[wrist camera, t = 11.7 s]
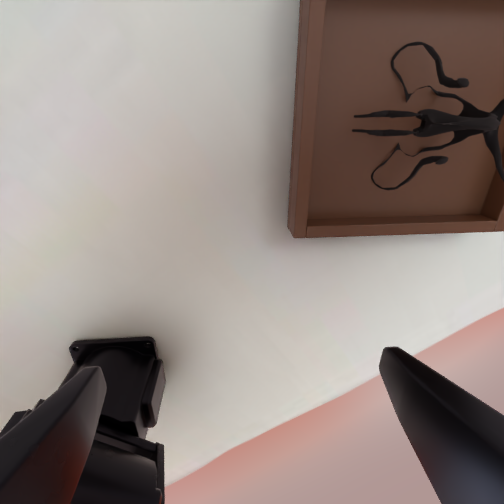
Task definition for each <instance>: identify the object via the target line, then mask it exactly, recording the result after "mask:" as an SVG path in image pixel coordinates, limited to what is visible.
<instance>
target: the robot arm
mask: <svg viewBox="0 0 504 504" xmlns="http://www.w3.org/2000/svg"><path fill="white" fill-rule="evenodd" d="M147 343H150V344H147ZM77 347H78V348H77ZM69 350H70V353H71V356H72V358H73V361H74V364H73V366H72V368H71V369H70V371H69V373H68V374H67V376H66V377H65V379H64V381H63V382H62V384H61V385H60V387H59V389H58V390H57V391H56V392H55V393H54V394H52V395H51V396H50V397H49V398H48V399H46V400H43V399H40V400H39V401H38V403H37V404H36V405H35V407H34V408H33V409H32V410H30V409H28V410H27V411H19V412H15V413H14V414H13V416H12V417H11V419H10V420H9V421H8V423H7V424H6V426H5V427H4V428H3V430H2V431H1V433H0V504H164V501H165V498H164V497H165V496H164V445H163V444H160V443H157V442H156V443H153V442H150V441H148V440H145V438H146V434H147V430H148V428H151V427H154V426H155V425H156V423H157V419H158V414H159V410H160V405H161V401H162V397H163V392H164V388H165V383H166V379H165V373H164V368H163V362H162V360H161V359H158V353H157V348H156V343H155V340H154V339H153V338H152V337H135V338H117V339H100V340H83V341H74V342H73V343H72V344H71V346H70V347H69ZM379 370H380V374H381V376H382V379H383V381H384V384H385V387H386V389H387V391H388V394H389V397H390V399H391V402H392V404H393V407H394V409H395V412H396V414H397V416H398V419H399V421H400V423H401V425H402V427H403V429H404V431H405V433H406V435H407V437H408V439H409V441H410V443H411V445H412V447H413V449H414V451H415V452H416V455H417V456H418V458H419V460H420V462H421V464H422V466H423V468H424V470H425V472H426V474H427V476H428V478H429V480H430V482H431V484H432V486H433V488H434V490H435V492H436V494H437V496H438V498H439V500H440V502H441V503H442V504H504V415H502V414H501V413H499V412H498V411H496V410H495V409H493V408H491V407H490V406H489V405H487V404H485V403H484V402H482V401H481V400H479V399H478V398H476V397H475V396H473V395H472V394H470V393H468V392H467V391H465V390H464V389H462V388H460V387H459V386H458V385H456V384H455V383H453V382H451V381H450V380H448V379H447V378H445V377H444V376H442V375H441V374H439V373H437V372H436V371H434V370H433V369H431V368H430V367H428V366H427V365H425V364H424V363H422V362H421V361H419V360H417V359H416V358H414V357H413V356H411V355H410V354H408V353H407V352H405V351H404V350H402V349H400V348H399V347H385V348H384V349H383V352H382V356H381V360H380V364H379Z"/></svg>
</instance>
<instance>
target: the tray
mask: <svg viewBox="0 0 504 504" xmlns="http://www.w3.org/2000/svg"><path fill="white" fill-rule="evenodd" d="M412 42H423V43H426V44H428V45H430V46H432V47H433V48H434V50H435V51H436V52H437V53H438V55H439V56H440V58H441V60H442V65H443V71H444V74H445V75H446V76H447V77H449V78H453V79H454V80H457V78H466V79H468V81H469V86H468V87H465V88H448V87H445V86H444V85H441V84H440V83H439V80H438V76H437V71H436V64H435V60H434V59H433V58H432V56H431V55H430V54H429V53H428V51H427V50H426V49H425V47H424V46H423V45H417V46H408V47H406V48H405V49H403V50H402V51H400V53H399V54H398V55H397V57H396V58H395V59H394V68H395V69H396V70H397V72H398V73H399V74H400V76H401V77H402V80H403V82H404V84H405V87H406V89H407V92H408V94H410V93H413V94H412V95H411V96H410V98H409V100H408V101H407V103H406V95H405V91H404V87H403V84H402V83H401V81H400V80H399V78H398V77H397V75H396V74H395V72H394V71H393V70H392V67H391V60H392V57H393V56H394V55H395V53H396V52H397V51H398V50H399V49H400V48H402V47H403V46H404V45H406V44H408V43H412ZM424 86H431V87H432V88H433V89H434V90H436V91H440V92H444V93H452V94H456V95H457V96H459V97H461V98H463V99H464V100H466V101H467V102H469V103H471V104H473V105H474V106H475V107H476V108H477V109H479V110H482V111H485V112H489V113H490V112H491V111H492V110H493V109H494V108H495V107H496V106H497V105H498V104H499V102H500V101H501V100H503V99H504V0H300V14H299V32H298V49H297V67H296V84H295V102H294V120H293V137H292V155H291V172H290V190H289V208H288V225H287V227H288V229H289V230H290V232H291V234H292V236H293V237H294V238H305V237H306V238H317V237H348V236H378V235H408V234H438V233H469V232H497V231H504V182H503V180H502V178H501V177H500V175H499V173H498V171H497V168H496V165H495V161H494V157H493V155H492V153H491V151H490V150H489V148H488V147H487V146H486V143H485V139H484V136H483V134H482V133H481V134H477V135H473V136H469V137H467V138H466V139H465V140H463V141H461V142H458V143H456V144H453V145H450V146H448V147H445V148H443V149H441V150H434V151H426V152H421V153H419V154H418V155H416V154H417V153H418V152H420V151H421V150H422V149H424V148H427V147H434V146H441V145H444V144H447V143H449V142H450V141H452V139H453V138H454V132H453V131H451V132H446V133H442V134H438V135H434V136H429V137H417V136H414V135H413V134H410V135H406V136H375V135H369V134H367V133H362V132H352V129H364V130H387V129H394V130H409V131H413V129H415V128H418V127H420V125H421V120H420V119H418V118H416V116H413V117H397V118H390V117H367V118H354V115H364V114H370V113H372V112H378V111H383V110H395V111H410V112H414V113H418V112H419V111H420V110H424V109H435V110H439V111H442V112H446V113H449V114H452V115H457V116H458V115H459V114H460V113H461V112H462V110H463V104H462V102H460V101H459V100H457V99H454V98H447V97H440V96H438V95H436V94H435V93H434V92H433V90H432V89H431V88H430V87H424ZM421 87H424V88H421ZM419 88H421V89H419ZM417 89H418V90H417ZM498 141H499V146H500V151H501V155H502V167H503V170H504V116H503V117H502V120H501V124H500V125H499V130H498ZM398 143H399V145H400V149H401V150H402V151H401V150H396V151H395V153H394V154H393V155H392V156H391V154H392V153H393V151H394V150H395V148H396V146H397V144H398ZM404 153H405V154H404ZM406 154H408V155H410V156H408V155H406ZM414 155H416V156H414ZM390 156H391V158H390V159H389V160H388V161H387V162H386V163H385V164H384V165H383V166H381V167H380V168H378V169H377V170H376V171H375V172H374V175H373V179H374V181H375V183H376V184H378V185H379V186H381V187H382V188H390V187H396V186H398V185H399V184H400V183H402V182H403V181H404V180H405V179H407V178H408V177H409V176H410V174H411V173H412V171H413V169H414V168H415V167H416V165H417V164H418V163H419V161H420V160H421V159H423V158H426V157H429V156H446V157H448V161H447V162H446V163H445V164H441V165H437V164H435V163H436V162H433V163H431V164H426V165H423V166H422V167H421V168H420V170H419V171H418V172H417V174H416V175H415V176H414V177H413V178H412V179H411V180H410V181H409V182H408V183H406V184H404V185H403V186H401V187H399V188H398V189H395V190H384V189H381V188H379V187H377V186H376V185H375V184H374V183H373V181H372V179H371V175H372V173H373V171H374V170H375V169H376V168H377V167H378V166H380V165H381V164H382V163H383V162H384V161H386V160H387V159H388V158H389V157H390ZM411 156H414V157H411Z"/></svg>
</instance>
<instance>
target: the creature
mask: <svg viewBox="0 0 504 504" xmlns="http://www.w3.org/2000/svg"><path fill="white" fill-rule="evenodd" d="M417 45H423V46H424V47H425V49H426V50H427V51H428V53H429V54H430V55H431V56H432V58H433V59H434V60H435V64H436V71H437V76H438V80H439V83H440V84H441V85H444V86H445V87H448V88H465V87H468V86H469V81H468V79H466V78H457V80H454V79H453V78H449V77H447V76H446V75H445V74H444V71H443V65H442V60H441V58H440V56H439V55H438V53H437V52H436V51H435V50H434V48H433V47H432V46H430V45H428V44H426V43H423V42H412V43H408V44H406V45H404V46H403V47H402V48H400V49H399V50H398V51H397V52H396V53H395V55H394V56H393V57H392V60H391V67H392V70H393V71H394V72H395V74H396V75H397V77H398V78H399V80H400V81H401V83H402V84H403V87H404V91H405V95H406V103H407V101H408V100H409V98H410V96H411V95H412V94H413V93H410V94H408V92H407V89H406V87H405V84H404V82H403V80H402V77H401V76H400V74H399V73H398V72H397V70H396V69H395V68H394V59H395V58H396V57H397V55H398V54H399V53H400V51H402V50H403V49H405V48H406V47H408V46H417ZM424 87H430V88H431V89H432V90H433V92H434V93H435V94H436V95H438V96H440V97H447V98H454V99H457V100H459V101H460V102H462V104H463V110H462V112H461V113H460V114H459V115H458V116H457V115H452V114H449V113H446V112H442V111H439V110H435V109H424V110H420V111H419V112H418V113H414V112H410V111H395V110H383V111H378V112H372V113H370V114H364V115H354V118H367V117H390V118H397V117H413V116H416V118H418V119H420V120H421V125H420V127H418V128H415V129H413V131H409V130H394V129H387V130H364V129H352V132H362V133H367V134H369V135H375V136H406V135H410V134H413V135H414V136H417V137H429V136H434V135H438V134H442V133H446V132H451V131H453V132H454V138H453V139H452V141H450V142H449V143H447V144H444V145H441V146H434V147H427V148H424V149H422V150H421V151H420V152H418V153H417V154H416V155H418V154H419V153H421V152H426V151H434V150H441V149H443V148H445V147H448V146H450V145H453V144H456V143H458V142H461V141H463V140H465V139H466V138H467V137H469V136H473V135H477V134H481V133H482V134H483V136H484V139H485V143H486V146H487V147H488V148H489V150H490V151H491V153H492V155H493V157H494V161H495V165H496V168H497V171H498V173H499V175H500V177H501V178H502V180H503V182H504V170H503V167H502V155H501V151H500V146H499V141H498V130H499V125H500V124H501V120H502V117H503V116H504V99H503V100H501V101H500V102H499V104H498V105H497V106H496V107H495V108H494V109H493V110H492V111H491V112H490V113H489V112H485V111H482V110H479V109H477V108H476V107H475V106H474V105H473V104H471V103H469V102H467V101H466V100H464V99H463V98H461V97H459V96H457V95H456V94H452V93H444V92H440V91H436V90H434V89H433V88H432V87H431V86H424ZM424 87H421V88H424ZM421 88H419V89H421ZM417 90H418V89H417ZM396 150H401V149H400V145H399V143H398V144H397V146H396V148H395V150H394V151H393V153H392V154H391V156H392V155H393V154H394V153H395V151H396ZM401 151H402V150H401ZM404 154H405V153H404ZM406 155H408V154H406ZM416 155H414V156H416ZM391 156H390V157H389V158H388V159H387V160H386V161H384V162H383V163H382V164H381V165H380V166H378V167H377V168H376V169H375V170H374V171H373V173H372V175H371V179H372V181H373V183H374V184H375V185H376V186H377V187H379V188H381V189H384V190H395V189H398V188H399V187H401V186H403V185H404V184H406V183H408V182H409V181H410V180H411V179H412V178H413V177H414V176H415V175H416V174H417V172H418V171H419V170H420V168H421V167H422V166H423V165H426V164H431V163H433V162H436V163H435V164H437V165H441V164H445V163H446V162H447V161H448V157H446V156H429V157H426V158H423V159H421V160H420V161H419V163H418V164H417V165H416V167H415V168H414V169H413V171H412V173H411V174H410V176H409V177H408V178H407V179H405V180H404V181H403V182H402V183H400V184H399V185H398V186H396V187H390V188H382V187H381V186H379V185H378V184H376V183H375V181H374V179H373V175H374V172H375V171H376V170H377V169H378V168H380V167H381V166H383V165H384V164H385V163H386V162H387V161H388V160H389V159H390V158H391ZM408 156H410V155H408ZM414 156H411V157H414Z"/></svg>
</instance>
